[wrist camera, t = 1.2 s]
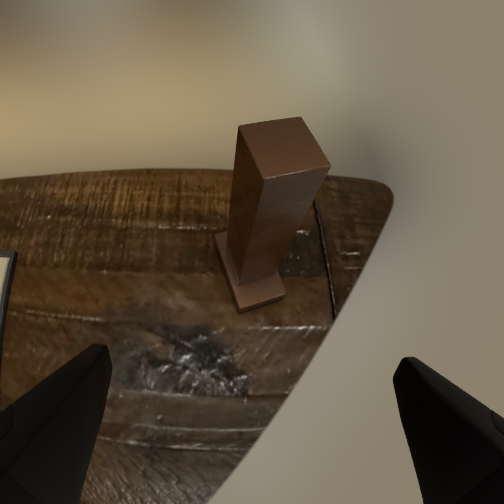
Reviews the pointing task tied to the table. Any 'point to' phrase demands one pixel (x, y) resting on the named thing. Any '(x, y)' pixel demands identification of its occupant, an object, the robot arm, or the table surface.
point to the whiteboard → (5, 285)
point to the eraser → (267, 206)
